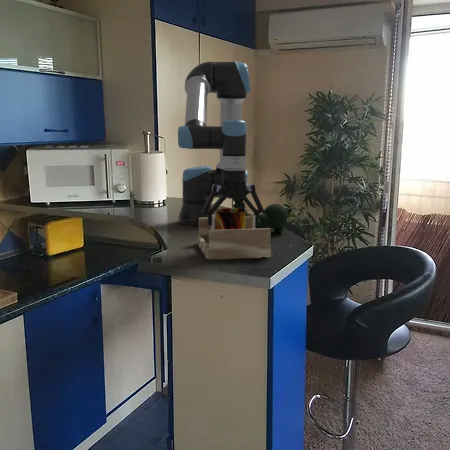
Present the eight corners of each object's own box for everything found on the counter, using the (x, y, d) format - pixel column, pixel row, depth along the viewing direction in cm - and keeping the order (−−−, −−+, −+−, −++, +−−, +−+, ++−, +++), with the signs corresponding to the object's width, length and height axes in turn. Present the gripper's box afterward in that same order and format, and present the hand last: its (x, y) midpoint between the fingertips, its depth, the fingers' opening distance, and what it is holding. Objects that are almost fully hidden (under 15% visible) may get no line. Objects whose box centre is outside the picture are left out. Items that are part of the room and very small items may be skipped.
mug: (231, 253, 165) (231, 215, 163) (210, 244, 177) (210, 209, 175) (257, 250, 170) (257, 213, 168) (235, 241, 182) (235, 207, 179)
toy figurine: (243, 243, 191) (299, 231, 202) (240, 191, 187) (298, 182, 198) (231, 238, 199) (285, 227, 210) (227, 188, 195) (283, 180, 206)
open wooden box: (197, 243, 182) (197, 217, 180) (254, 241, 186) (255, 216, 184) (207, 259, 160) (207, 230, 159) (271, 257, 164) (272, 228, 163)
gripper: (196, 170, 162) (196, 238, 166) (274, 170, 167) (272, 235, 171) (193, 168, 170) (193, 233, 174) (268, 168, 174) (266, 231, 178)
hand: (232, 234), depth 172 cm, fingers open, 13 cm apart
